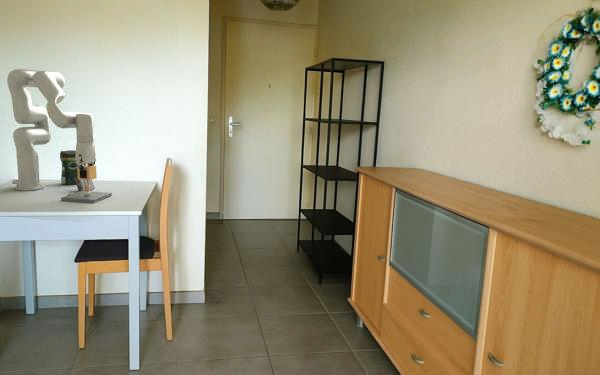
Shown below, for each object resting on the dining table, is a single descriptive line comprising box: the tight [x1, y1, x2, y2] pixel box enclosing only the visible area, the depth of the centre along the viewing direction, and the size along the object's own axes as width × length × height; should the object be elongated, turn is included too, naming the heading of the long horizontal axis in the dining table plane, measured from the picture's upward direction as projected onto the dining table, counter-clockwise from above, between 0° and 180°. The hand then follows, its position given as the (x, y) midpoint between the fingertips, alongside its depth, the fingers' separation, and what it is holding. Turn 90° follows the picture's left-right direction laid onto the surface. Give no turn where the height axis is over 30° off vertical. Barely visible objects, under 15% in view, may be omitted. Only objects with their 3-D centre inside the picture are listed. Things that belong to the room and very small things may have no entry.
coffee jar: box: [59, 149, 79, 186], centre depth 257 cm, size 10×8×19 cm
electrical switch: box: [74, 176, 95, 192], centre depth 243 cm, size 9×5×9 cm, turn 171°
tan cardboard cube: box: [77, 165, 98, 181], centre depth 224 cm, size 6×6×6 cm
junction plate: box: [60, 185, 113, 204], centre depth 226 cm, size 16×17×6 cm
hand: (87, 176), depth 224 cm, fingers closed on tan cardboard cube, 5 cm apart
